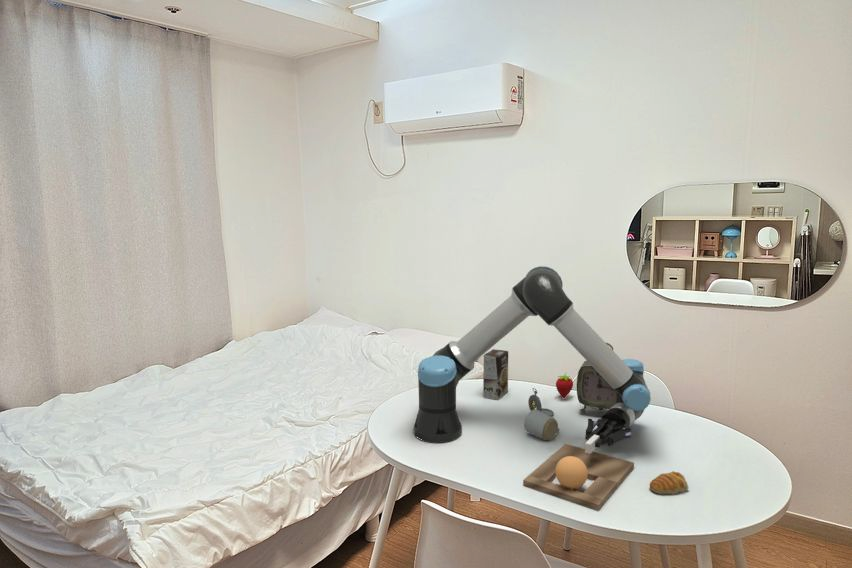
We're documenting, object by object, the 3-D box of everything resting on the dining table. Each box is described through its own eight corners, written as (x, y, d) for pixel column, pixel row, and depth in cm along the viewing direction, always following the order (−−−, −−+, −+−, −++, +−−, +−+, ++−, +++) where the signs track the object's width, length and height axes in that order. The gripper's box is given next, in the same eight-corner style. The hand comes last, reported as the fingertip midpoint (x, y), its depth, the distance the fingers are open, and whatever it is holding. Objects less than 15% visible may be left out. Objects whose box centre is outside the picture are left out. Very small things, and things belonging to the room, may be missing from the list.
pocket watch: (556, 413, 196) (557, 385, 194) (547, 422, 189) (548, 393, 187) (533, 408, 201) (534, 381, 199) (524, 417, 194) (524, 388, 192)
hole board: (523, 485, 150) (523, 480, 150) (565, 448, 171) (565, 443, 170) (598, 510, 138) (598, 504, 138) (633, 467, 159) (634, 462, 158)
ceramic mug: (543, 444, 173) (544, 420, 172) (523, 435, 180) (523, 412, 178) (566, 435, 180) (567, 411, 179) (545, 426, 186) (546, 404, 185)
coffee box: (498, 400, 209) (499, 357, 206) (482, 397, 212) (482, 354, 209) (508, 392, 217) (509, 350, 214) (492, 389, 220) (493, 348, 217)
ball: (556, 447, 150) (564, 464, 155) (547, 474, 145) (556, 491, 150) (586, 452, 146) (594, 470, 150) (578, 480, 141) (586, 498, 145)
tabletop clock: (575, 414, 195) (577, 342, 191) (580, 405, 203) (582, 336, 199) (620, 421, 189) (624, 347, 185) (623, 411, 197) (627, 340, 193)
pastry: (662, 500, 143) (662, 485, 142) (642, 487, 149) (642, 473, 148) (690, 491, 147) (691, 477, 146) (669, 479, 153) (670, 466, 152)
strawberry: (575, 396, 211) (576, 370, 209) (568, 403, 205) (569, 376, 203) (560, 393, 214) (560, 367, 213) (552, 400, 208) (553, 373, 207)
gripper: (639, 436, 171) (611, 468, 152) (596, 425, 178) (564, 454, 160) (640, 412, 169) (612, 441, 151) (597, 402, 177) (565, 429, 159)
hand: (587, 448), depth 155 cm, fingers closed
